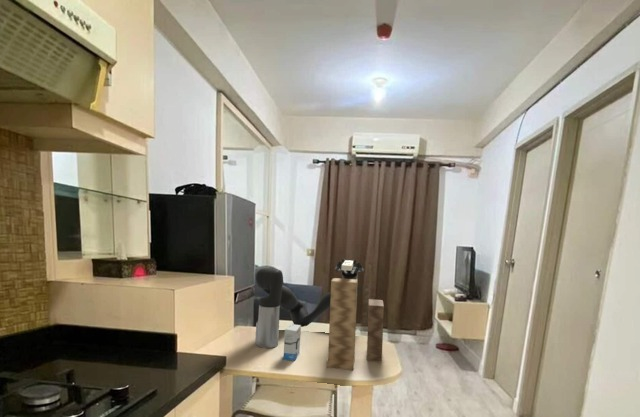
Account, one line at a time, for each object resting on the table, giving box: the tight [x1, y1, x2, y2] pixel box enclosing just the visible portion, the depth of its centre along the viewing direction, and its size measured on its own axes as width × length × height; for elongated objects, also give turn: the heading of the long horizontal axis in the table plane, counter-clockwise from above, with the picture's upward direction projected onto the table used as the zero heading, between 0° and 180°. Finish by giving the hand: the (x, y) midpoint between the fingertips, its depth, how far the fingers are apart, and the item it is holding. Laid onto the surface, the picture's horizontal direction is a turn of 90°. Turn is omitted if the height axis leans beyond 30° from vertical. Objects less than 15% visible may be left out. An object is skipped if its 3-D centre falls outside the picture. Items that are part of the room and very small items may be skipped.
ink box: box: [283, 323, 302, 361], centre depth 138 cm, size 8×5×12 cm, turn 168°
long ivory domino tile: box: [340, 259, 353, 271], centre depth 148 cm, size 4×22×2 cm, turn 171°
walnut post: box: [366, 298, 385, 362], centre depth 143 cm, size 6×12×22 cm, turn 172°
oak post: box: [326, 277, 358, 371], centre depth 134 cm, size 10×11×32 cm
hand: (348, 260), depth 153 cm, fingers closed on long ivory domino tile, 4 cm apart
